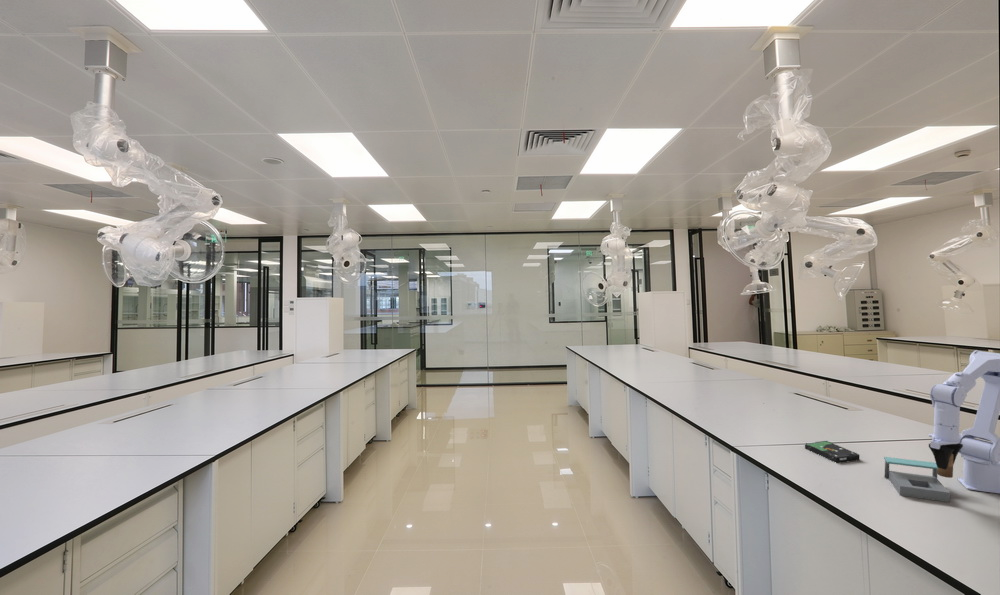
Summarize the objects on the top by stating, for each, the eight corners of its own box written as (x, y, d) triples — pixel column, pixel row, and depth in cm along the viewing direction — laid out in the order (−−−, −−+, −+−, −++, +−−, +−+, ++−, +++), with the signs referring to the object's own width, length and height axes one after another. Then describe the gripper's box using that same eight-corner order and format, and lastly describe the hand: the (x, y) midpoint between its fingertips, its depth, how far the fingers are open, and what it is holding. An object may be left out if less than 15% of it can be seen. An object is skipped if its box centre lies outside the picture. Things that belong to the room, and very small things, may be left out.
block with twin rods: (936, 483, 158) (937, 462, 158) (941, 489, 154) (942, 468, 154) (883, 476, 164) (884, 456, 164) (887, 481, 160) (887, 461, 160)
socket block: (934, 485, 157) (935, 476, 157) (949, 502, 146) (949, 492, 146) (888, 479, 162) (889, 470, 162) (899, 495, 151) (900, 485, 151)
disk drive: (860, 461, 178) (826, 446, 193) (860, 454, 178) (826, 440, 192) (836, 464, 176) (803, 449, 191) (836, 457, 176) (804, 442, 191)
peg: (954, 475, 147) (955, 453, 147) (949, 478, 146) (950, 456, 145) (940, 471, 151) (941, 450, 150) (935, 474, 149) (935, 452, 148)
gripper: (941, 416, 154) (939, 457, 155) (918, 424, 147) (917, 467, 148) (970, 422, 148) (968, 465, 149) (948, 430, 141) (946, 475, 142)
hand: (945, 466), depth 148 cm, fingers closed on peg, 3 cm apart
